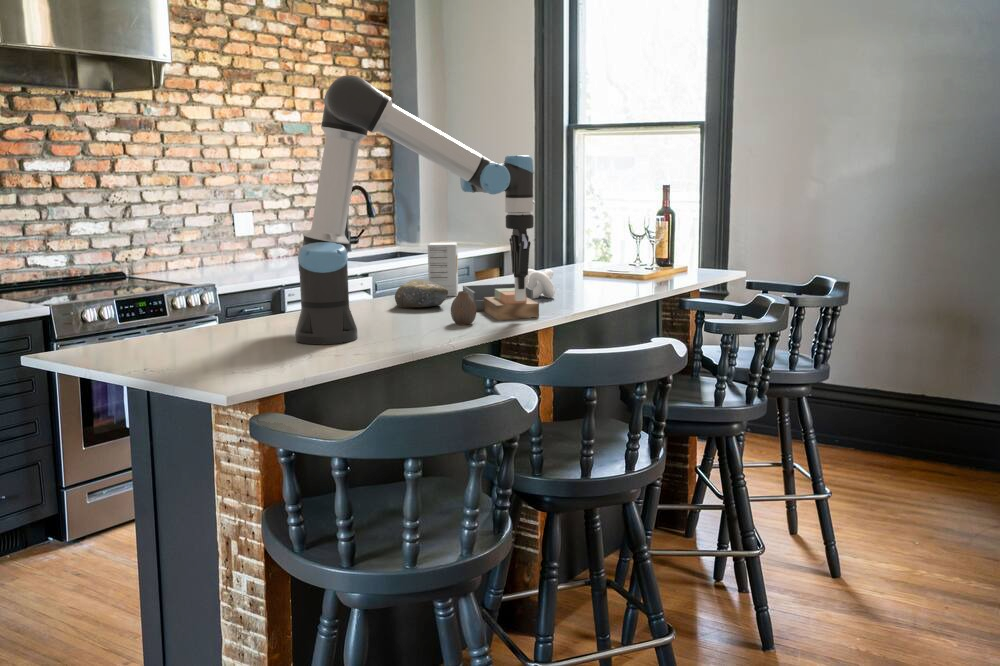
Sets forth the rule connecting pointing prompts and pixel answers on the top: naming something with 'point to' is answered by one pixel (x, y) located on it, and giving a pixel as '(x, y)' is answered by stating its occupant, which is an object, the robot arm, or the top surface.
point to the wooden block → (510, 309)
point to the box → (488, 293)
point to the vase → (463, 309)
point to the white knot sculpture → (540, 283)
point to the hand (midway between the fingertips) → (520, 300)
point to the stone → (420, 294)
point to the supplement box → (444, 266)
